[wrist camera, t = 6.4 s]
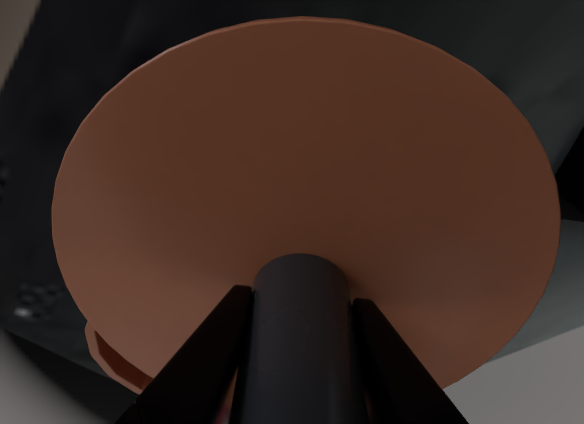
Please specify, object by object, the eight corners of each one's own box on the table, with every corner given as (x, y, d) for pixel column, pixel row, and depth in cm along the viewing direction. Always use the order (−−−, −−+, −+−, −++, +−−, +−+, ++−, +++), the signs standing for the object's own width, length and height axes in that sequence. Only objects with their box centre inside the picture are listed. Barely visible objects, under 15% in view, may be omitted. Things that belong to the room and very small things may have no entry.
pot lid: (646, 59, 7) (1203, 174, 3) (439, 404, 13) (504, 604, 9) (18, -30, 7) (-545, -66, 2) (112, 371, 13) (15, 565, 9)
